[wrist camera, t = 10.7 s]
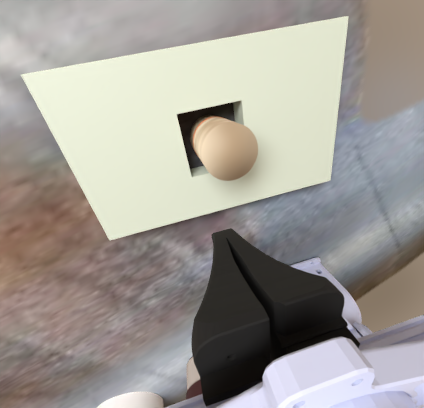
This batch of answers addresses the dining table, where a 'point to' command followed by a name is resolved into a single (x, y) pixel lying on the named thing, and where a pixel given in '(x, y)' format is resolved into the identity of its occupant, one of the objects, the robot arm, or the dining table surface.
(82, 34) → the dining table surface
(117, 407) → the honey pot
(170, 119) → the board
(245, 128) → the peg
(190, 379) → the coffee cup
